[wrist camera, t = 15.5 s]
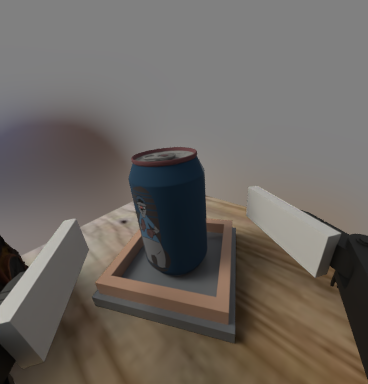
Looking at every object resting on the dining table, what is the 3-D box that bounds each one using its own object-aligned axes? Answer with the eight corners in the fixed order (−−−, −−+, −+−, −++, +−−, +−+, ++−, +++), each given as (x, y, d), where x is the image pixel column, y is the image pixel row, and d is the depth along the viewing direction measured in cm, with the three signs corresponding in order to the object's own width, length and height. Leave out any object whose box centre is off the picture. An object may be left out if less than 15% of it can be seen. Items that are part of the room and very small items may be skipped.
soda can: (206, 235, 23) (202, 144, 18) (209, 282, 16) (205, 160, 12) (155, 237, 23) (138, 148, 18) (140, 282, 17) (108, 166, 12)
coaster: (235, 234, 24) (236, 218, 23) (234, 343, 13) (235, 322, 12) (152, 226, 28) (149, 212, 27) (95, 305, 17) (86, 286, 15)
